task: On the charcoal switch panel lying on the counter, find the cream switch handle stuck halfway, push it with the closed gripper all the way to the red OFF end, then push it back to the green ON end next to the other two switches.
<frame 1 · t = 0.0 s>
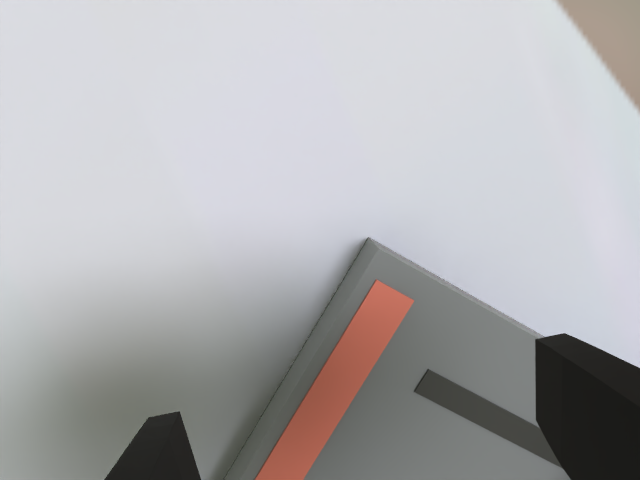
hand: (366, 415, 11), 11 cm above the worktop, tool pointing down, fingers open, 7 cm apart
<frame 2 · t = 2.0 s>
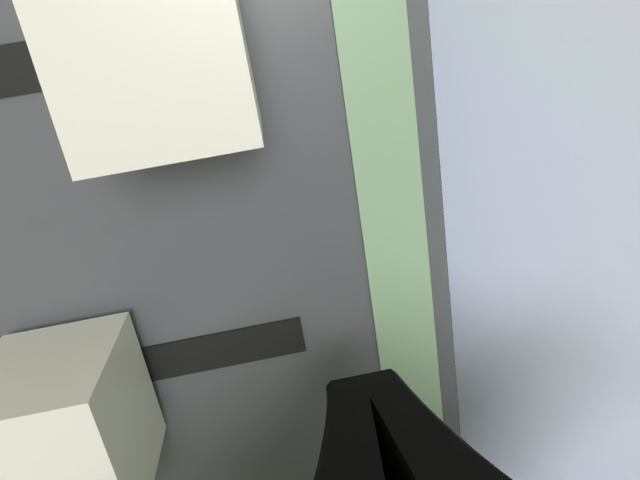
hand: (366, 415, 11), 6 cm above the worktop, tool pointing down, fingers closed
outer switch: (157, 44, 9), point 4 cm above the worktop, slide at 4.0 cm
switch panel: (111, 334, 16), on the worktop
middle switch: (66, 430, 12), point 4 cm above the worktop, slide at 0.0 cm
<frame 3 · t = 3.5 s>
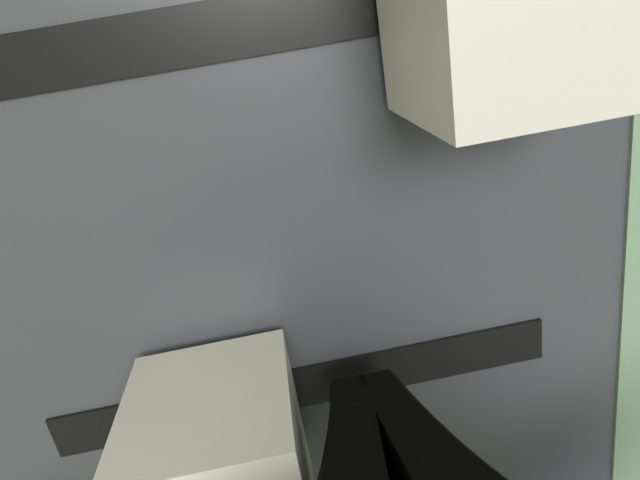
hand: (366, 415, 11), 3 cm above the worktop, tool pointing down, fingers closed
switch panel: (296, 338, 14), on the worktop
middle switch: (224, 473, 10), point 4 cm above the worktop, slide at -1.7 cm, touching gripper
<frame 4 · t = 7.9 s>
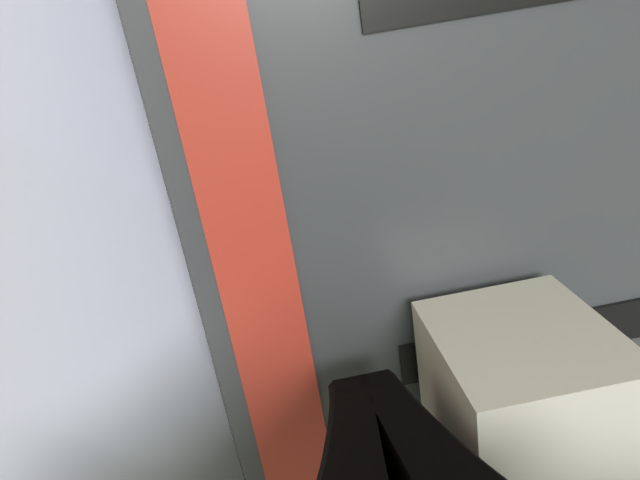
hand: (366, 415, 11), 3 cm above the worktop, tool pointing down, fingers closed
switch panel: (584, 280, 14), on the worktop
middle switch: (521, 410, 10), point 4 cm above the worktop, slide at -3.7 cm, touching gripper
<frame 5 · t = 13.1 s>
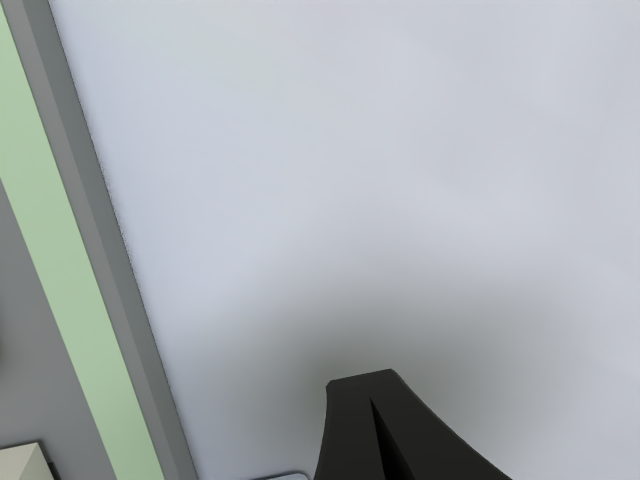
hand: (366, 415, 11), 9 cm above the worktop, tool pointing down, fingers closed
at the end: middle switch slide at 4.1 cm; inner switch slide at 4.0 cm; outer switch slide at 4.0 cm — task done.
